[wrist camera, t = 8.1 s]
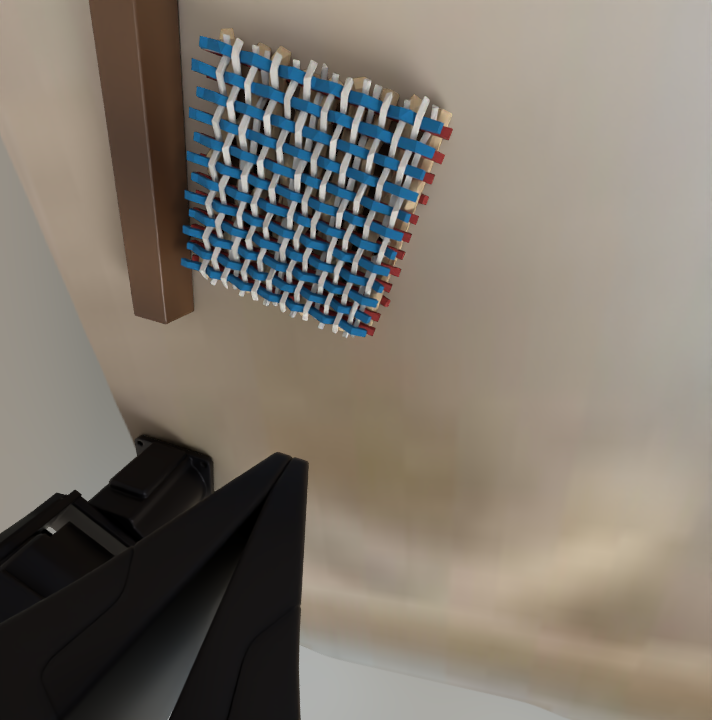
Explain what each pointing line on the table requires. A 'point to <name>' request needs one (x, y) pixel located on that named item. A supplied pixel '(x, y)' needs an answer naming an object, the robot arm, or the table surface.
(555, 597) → the table surface
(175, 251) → the bar
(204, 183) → the woven mat
